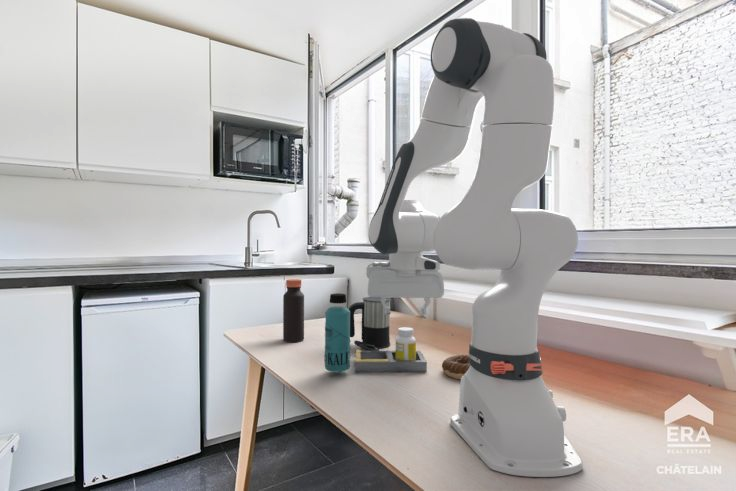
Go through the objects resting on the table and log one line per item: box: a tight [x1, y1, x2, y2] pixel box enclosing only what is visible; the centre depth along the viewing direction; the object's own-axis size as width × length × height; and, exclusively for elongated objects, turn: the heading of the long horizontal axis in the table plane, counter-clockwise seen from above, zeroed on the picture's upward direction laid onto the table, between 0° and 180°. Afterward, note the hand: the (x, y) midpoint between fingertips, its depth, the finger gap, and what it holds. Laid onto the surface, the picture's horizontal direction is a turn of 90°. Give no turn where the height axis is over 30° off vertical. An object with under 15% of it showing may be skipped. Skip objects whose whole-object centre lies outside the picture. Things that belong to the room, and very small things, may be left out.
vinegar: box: [282, 278, 305, 343], centre depth 125 cm, size 7×7×20 cm
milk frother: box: [347, 296, 392, 351], centre depth 117 cm, size 14×16×15 cm
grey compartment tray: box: [355, 349, 428, 373], centre depth 101 cm, size 10×18×3 cm, turn 91°
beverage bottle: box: [323, 292, 351, 373], centre depth 94 cm, size 6×7×20 cm
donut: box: [441, 354, 470, 381], centre depth 94 cm, size 11×11×4 cm
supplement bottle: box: [395, 326, 417, 360], centre depth 101 cm, size 5×5×10 cm
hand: (405, 314), depth 101 cm, fingers open, 8 cm apart
